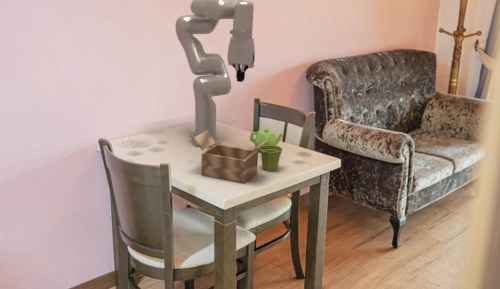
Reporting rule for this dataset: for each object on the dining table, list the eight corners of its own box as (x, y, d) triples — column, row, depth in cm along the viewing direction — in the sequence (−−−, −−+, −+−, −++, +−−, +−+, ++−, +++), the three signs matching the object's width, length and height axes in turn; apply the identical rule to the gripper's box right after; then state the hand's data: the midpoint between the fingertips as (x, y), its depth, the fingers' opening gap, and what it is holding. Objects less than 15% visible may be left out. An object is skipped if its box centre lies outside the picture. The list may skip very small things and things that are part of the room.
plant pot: (257, 164, 204) (258, 144, 201) (279, 164, 205) (280, 144, 202) (259, 172, 195) (260, 152, 192) (283, 172, 196) (284, 152, 193)
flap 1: (203, 150, 188) (202, 150, 188) (215, 142, 197) (214, 143, 197) (194, 137, 188) (193, 137, 188) (207, 130, 197) (206, 130, 197)
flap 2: (257, 149, 191) (258, 150, 191) (246, 157, 181) (247, 158, 181) (267, 139, 188) (267, 140, 188) (256, 147, 179) (257, 148, 179)
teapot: (265, 155, 215) (267, 134, 212) (247, 149, 222) (248, 128, 219) (283, 150, 223) (284, 129, 220) (264, 144, 230) (265, 124, 227)
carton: (201, 175, 190) (201, 153, 187) (216, 165, 201) (216, 144, 198) (244, 183, 183) (245, 160, 181) (257, 172, 195) (258, 150, 192)
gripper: (220, 33, 189) (219, 80, 195) (256, 37, 184) (254, 85, 190) (229, 31, 196) (227, 77, 202) (264, 35, 191) (261, 82, 197)
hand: (240, 81), depth 196 cm, fingers closed
